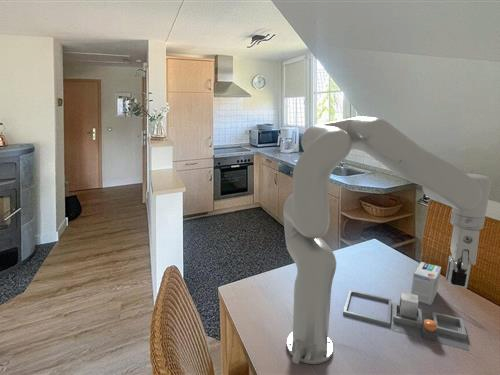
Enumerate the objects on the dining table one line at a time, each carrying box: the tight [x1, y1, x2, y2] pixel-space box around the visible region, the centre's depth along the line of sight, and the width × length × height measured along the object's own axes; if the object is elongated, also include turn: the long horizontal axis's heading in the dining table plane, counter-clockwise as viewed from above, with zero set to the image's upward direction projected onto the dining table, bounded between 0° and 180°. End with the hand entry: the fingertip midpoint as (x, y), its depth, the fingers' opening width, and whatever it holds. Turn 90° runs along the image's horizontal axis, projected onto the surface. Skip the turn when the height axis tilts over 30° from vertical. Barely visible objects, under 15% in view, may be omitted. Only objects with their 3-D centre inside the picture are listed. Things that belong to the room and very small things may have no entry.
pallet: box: [391, 302, 470, 352], centre depth 95 cm, size 13×19×4 cm
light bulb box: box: [410, 261, 442, 306], centre depth 110 cm, size 11×7×11 cm, turn 141°
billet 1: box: [399, 291, 419, 321], centre depth 98 cm, size 4×5×7 cm
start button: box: [424, 319, 437, 332], centre depth 90 cm, size 3×3×2 cm
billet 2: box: [445, 255, 472, 289], centre depth 90 cm, size 4×5×7 cm
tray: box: [342, 289, 393, 327], centre depth 104 cm, size 14×14×2 cm
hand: (456, 279), depth 91 cm, fingers closed on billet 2, 4 cm apart
